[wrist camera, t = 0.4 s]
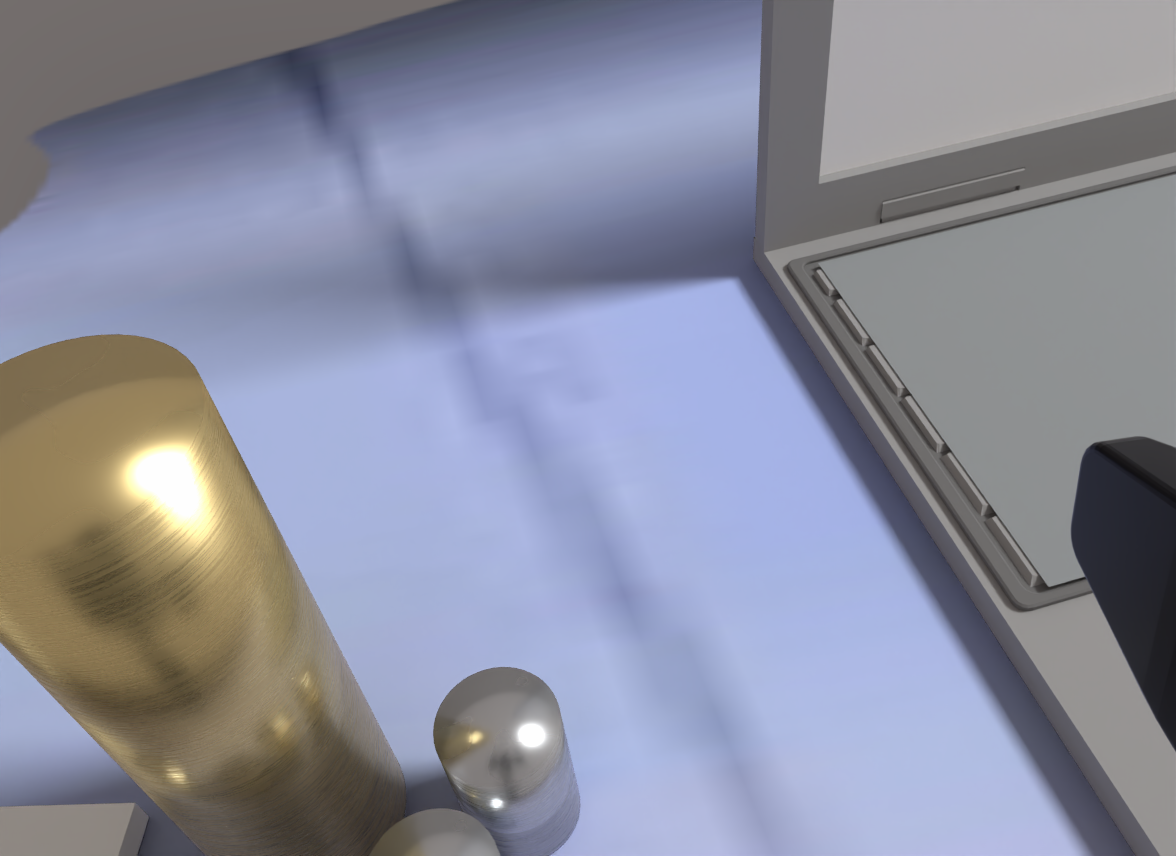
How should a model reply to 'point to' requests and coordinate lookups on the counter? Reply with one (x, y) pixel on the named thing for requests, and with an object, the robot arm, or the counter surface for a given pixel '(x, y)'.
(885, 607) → the counter surface
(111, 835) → the tile
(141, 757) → the brass tube
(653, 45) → the counter surface
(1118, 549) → the robot arm
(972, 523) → the laptop
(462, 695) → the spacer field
